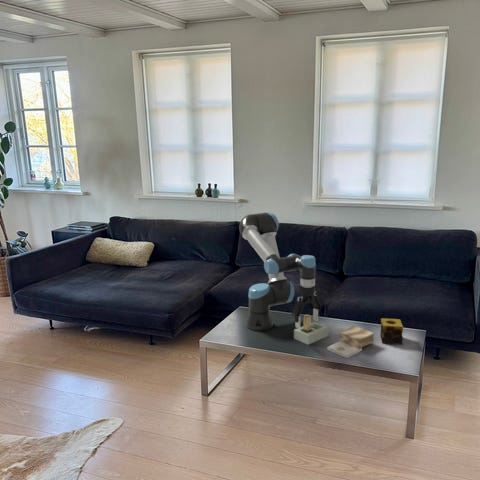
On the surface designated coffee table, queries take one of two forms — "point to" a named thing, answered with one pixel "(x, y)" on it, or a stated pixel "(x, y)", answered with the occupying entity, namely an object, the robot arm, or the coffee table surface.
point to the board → (343, 349)
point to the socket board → (311, 333)
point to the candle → (391, 331)
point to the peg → (306, 323)
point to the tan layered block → (356, 337)
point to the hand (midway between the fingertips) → (306, 324)
